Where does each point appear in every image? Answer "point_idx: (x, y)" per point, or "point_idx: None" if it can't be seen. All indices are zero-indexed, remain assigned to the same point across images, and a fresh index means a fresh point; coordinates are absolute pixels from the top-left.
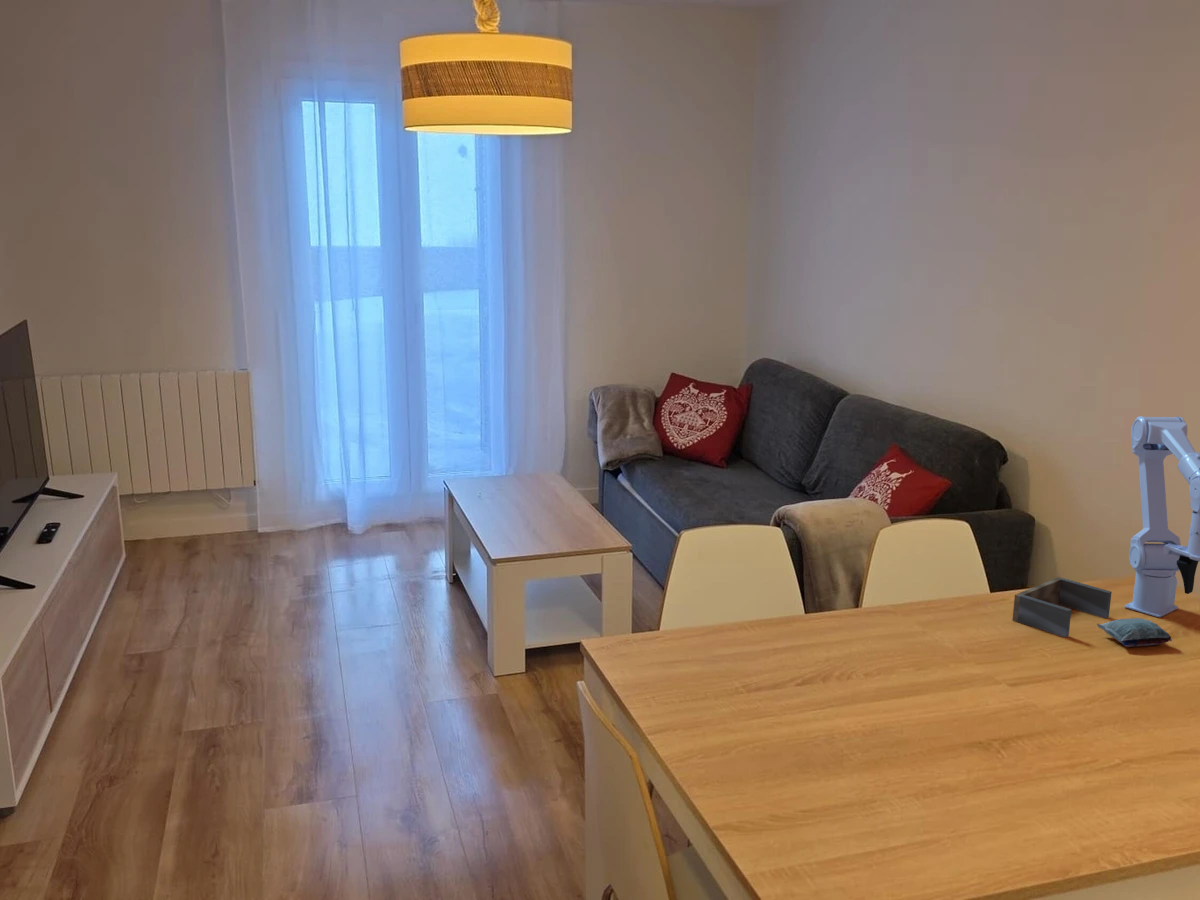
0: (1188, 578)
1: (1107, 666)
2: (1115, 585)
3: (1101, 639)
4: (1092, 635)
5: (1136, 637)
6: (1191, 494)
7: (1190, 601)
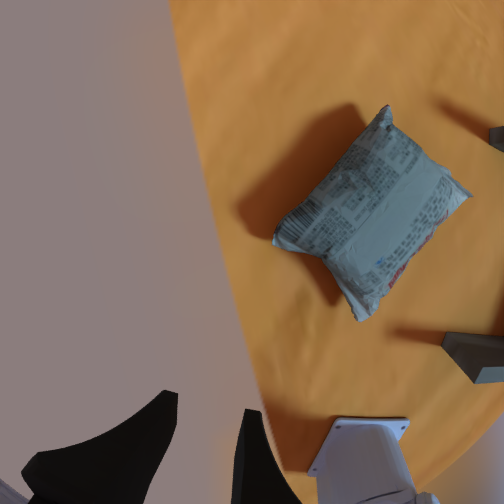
0: (242, 469)
1: (358, 2)
2: None
3: None
4: None
5: (360, 136)
6: None
7: None
